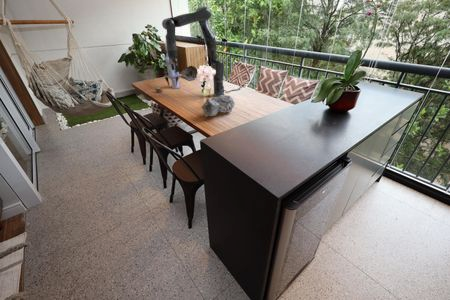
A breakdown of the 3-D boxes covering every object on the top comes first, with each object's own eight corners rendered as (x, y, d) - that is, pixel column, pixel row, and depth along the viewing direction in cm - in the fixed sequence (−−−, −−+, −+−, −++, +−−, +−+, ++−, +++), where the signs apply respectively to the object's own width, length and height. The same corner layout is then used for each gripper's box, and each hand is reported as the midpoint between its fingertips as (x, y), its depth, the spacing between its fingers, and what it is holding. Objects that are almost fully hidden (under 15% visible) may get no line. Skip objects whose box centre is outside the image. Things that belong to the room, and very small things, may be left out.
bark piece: (202, 74, 255) (191, 66, 272) (199, 69, 248) (187, 61, 265) (192, 85, 255) (181, 76, 272) (188, 81, 249) (177, 72, 266)
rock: (218, 115, 147) (243, 104, 163) (206, 95, 147) (232, 87, 164) (208, 125, 160) (232, 114, 177) (197, 107, 161) (222, 98, 177)
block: (156, 92, 212) (155, 88, 210) (158, 91, 216) (157, 87, 214) (160, 92, 212) (159, 88, 209) (162, 91, 215) (161, 87, 213)
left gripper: (162, 72, 188) (165, 86, 196) (178, 71, 190) (180, 86, 198) (163, 70, 194) (165, 84, 202) (178, 69, 196) (180, 84, 204)
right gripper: (179, 50, 154) (182, 72, 163) (173, 47, 164) (176, 68, 173) (170, 51, 150) (173, 73, 160) (164, 48, 161) (167, 70, 170)
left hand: (172, 85), depth 200 cm, fingers open, 7 cm apart
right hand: (175, 71), depth 166 cm, fingers open, 8 cm apart
